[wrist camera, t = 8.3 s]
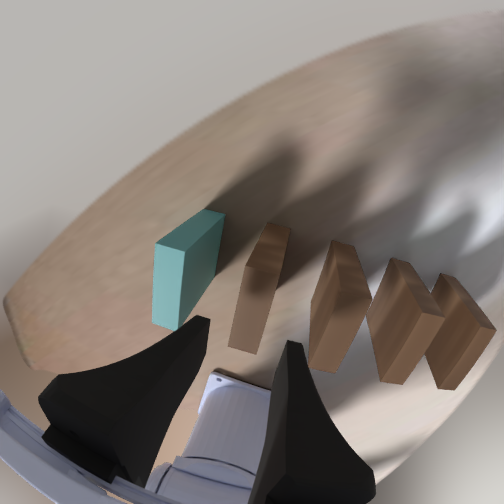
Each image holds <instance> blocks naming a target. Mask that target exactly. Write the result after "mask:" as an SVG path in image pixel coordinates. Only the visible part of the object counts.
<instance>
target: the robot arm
mask: <svg viewBox="0 0 504 504" xmlns="http://www.w3.org/2000/svg"><path fill="white" fill-rule="evenodd" d="M209 327H210V319H208V318H205V317H202V316H198V315H196V316H194V317H193V318H192V319H190V320H189V321H188V322H186V323H185V324H184V325H182V326H181V327H180V328H178V329H177V330H176V331H174V332H173V333H171V334H170V335H168V336H167V337H165V338H164V339H162V340H161V341H159V342H157V343H155V344H154V345H152V346H150V347H149V348H147V349H145V350H143V351H141V352H139V353H137V354H135V355H133V356H131V357H128V358H126V359H123V360H121V361H118V362H116V363H113V364H110V365H107V366H103V367H100V368H96V369H92V370H87V371H82V372H76V373H68V374H60V375H58V376H57V377H56V378H54V379H53V380H52V381H51V383H50V384H49V385H48V386H47V387H46V388H45V389H44V391H43V392H42V393H41V394H40V395H39V397H38V401H39V404H40V406H41V408H42V410H43V412H44V413H45V415H46V417H47V419H48V420H49V421H50V424H51V425H50V426H49V427H48V429H47V430H46V431H45V432H44V431H43V430H41V429H40V428H39V427H38V426H37V425H35V424H34V423H33V422H31V421H30V420H29V419H27V418H26V417H25V416H24V415H23V414H22V413H20V412H19V411H18V410H17V409H16V408H14V407H13V406H12V405H11V402H10V401H9V399H8V397H7V396H6V395H5V393H4V392H3V391H2V390H1V389H0V458H1V459H2V460H3V461H4V462H5V463H6V464H7V465H8V466H10V467H11V468H12V469H13V470H14V471H15V472H16V473H17V474H18V475H20V476H21V477H22V478H23V479H24V480H26V481H27V482H28V483H29V484H30V485H32V486H33V487H34V488H35V489H37V490H38V491H39V492H41V493H42V494H43V495H45V496H46V497H47V498H49V499H50V500H51V501H53V502H55V503H56V504H127V503H124V502H122V501H120V500H117V499H115V498H113V497H110V496H108V495H107V493H106V491H105V490H107V491H109V492H111V493H113V494H115V495H117V496H119V497H121V498H123V499H125V500H127V501H129V502H132V503H134V504H366V503H368V502H369V501H371V500H372V499H373V498H374V497H375V495H376V485H375V478H374V473H373V470H372V469H371V468H370V467H369V466H368V465H367V464H366V463H365V462H364V461H363V460H362V459H361V458H360V457H359V456H358V455H357V454H356V453H355V451H354V450H353V449H352V448H351V447H350V446H349V444H348V443H347V442H346V440H345V439H344V437H343V436H342V435H341V433H340V432H339V431H338V429H337V428H336V426H335V424H334V423H333V421H332V420H331V418H330V416H329V414H328V412H327V411H326V409H325V407H324V405H323V403H322V401H321V399H320V396H319V394H318V392H317V389H316V387H315V384H314V382H313V379H312V376H311V373H310V370H309V367H308V364H307V360H306V357H305V352H304V348H303V345H302V343H298V342H294V341H289V340H287V342H286V345H285V348H284V351H283V353H282V356H281V359H280V362H279V365H278V367H277V370H276V373H275V377H274V381H273V385H272V390H271V391H270V390H266V389H263V388H260V387H257V386H254V385H251V384H248V383H245V382H242V381H239V380H236V379H233V378H231V377H228V376H225V375H222V374H220V373H217V372H211V373H210V375H209V378H208V381H207V385H206V388H205V391H204V394H203V397H202V400H201V403H200V406H199V410H198V414H199V417H198V419H197V421H196V424H195V426H194V428H193V430H192V433H191V435H190V438H189V440H188V442H187V445H186V447H185V449H184V452H183V454H182V456H181V457H180V456H176V458H175V460H174V463H173V464H171V463H168V462H166V463H164V464H162V465H160V466H157V467H156V468H155V469H154V470H153V472H152V473H151V470H152V467H153V465H154V462H155V459H156V457H157V454H158V452H159V449H160V447H161V444H162V442H163V439H164V437H165V435H166V432H167V430H168V427H169V425H170V423H171V421H172V418H173V416H174V414H175V412H176V410H177V408H178V407H179V405H180V403H181V402H182V400H183V398H184V396H185V395H186V393H187V391H188V389H189V388H190V386H191V384H192V382H193V381H194V379H195V377H196V375H197V374H198V372H199V369H200V367H201V364H202V362H203V359H204V357H205V354H206V349H207V341H208V334H209ZM150 473H151V475H150ZM97 485H98V486H97ZM99 486H100V487H101V488H100V487H99ZM102 488H103V489H105V490H103V489H102Z"/></svg>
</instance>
